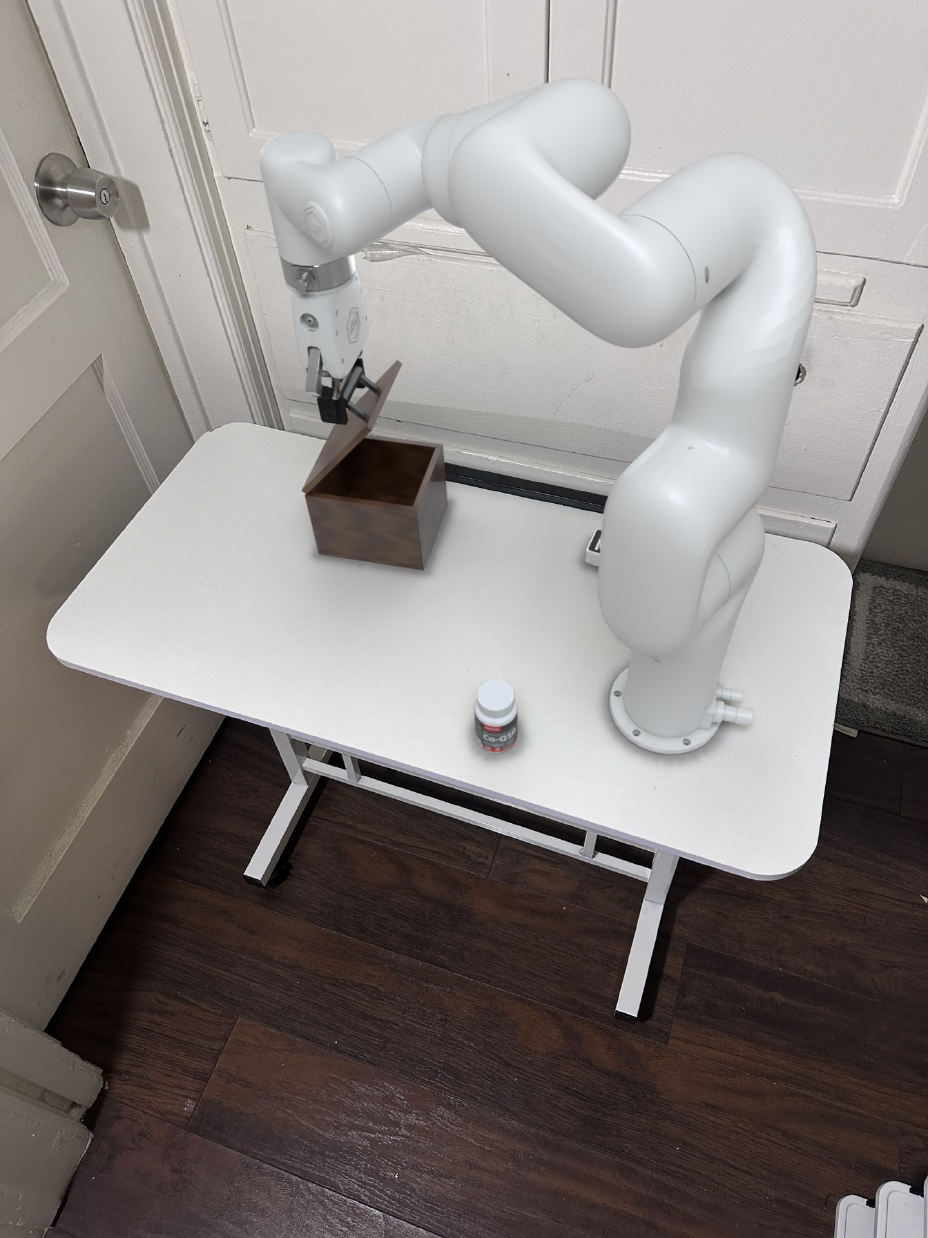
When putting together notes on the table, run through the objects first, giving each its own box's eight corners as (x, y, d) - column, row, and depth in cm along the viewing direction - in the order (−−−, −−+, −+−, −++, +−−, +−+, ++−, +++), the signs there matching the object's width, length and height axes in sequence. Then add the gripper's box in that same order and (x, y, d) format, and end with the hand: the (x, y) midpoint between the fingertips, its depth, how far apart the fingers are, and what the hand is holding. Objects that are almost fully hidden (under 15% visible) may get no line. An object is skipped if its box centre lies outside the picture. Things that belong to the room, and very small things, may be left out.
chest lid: (402, 363, 111) (369, 336, 109) (371, 430, 103) (335, 403, 101) (338, 429, 122) (307, 406, 120) (306, 494, 114) (272, 471, 112)
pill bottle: (482, 759, 102) (480, 718, 96) (470, 724, 105) (467, 682, 99) (523, 748, 103) (523, 707, 96) (510, 714, 106) (510, 672, 99)
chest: (447, 504, 128) (443, 444, 119) (423, 570, 120) (417, 511, 112) (348, 489, 130) (336, 430, 122) (318, 554, 123) (304, 495, 114)
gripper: (324, 313, 90) (351, 455, 104) (377, 224, 100) (395, 363, 114) (253, 306, 91) (289, 447, 105) (312, 219, 101) (338, 357, 115)
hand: (344, 402), depth 109 cm, fingers closed on chest lid, 6 cm apart
